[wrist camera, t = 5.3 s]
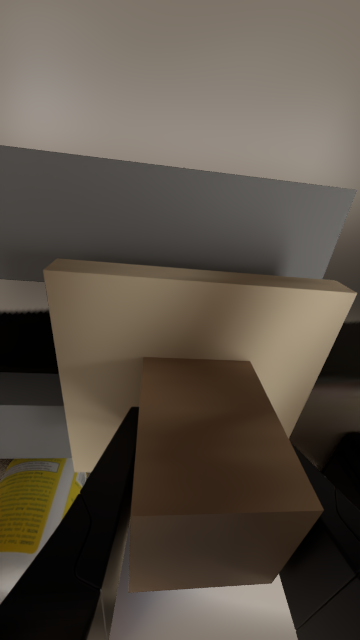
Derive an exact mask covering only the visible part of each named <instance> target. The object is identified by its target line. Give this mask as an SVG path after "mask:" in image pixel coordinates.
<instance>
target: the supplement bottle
mask: <svg viewBox="0 0 360 640" xmlns="http://www.w3.org/2000/svg"><path fill="white" fill-rule="evenodd" d="M86 477H87V472H74V467H73V460H72V458H20V459H11V461H10V463H9V465H8V467H7V469H6V471H5V473H4V475H3V477H2V479H1V481H0V604H1V603H2V601H3V600H4V599H5V597H6V596H7V595H8V593H9V592H10V591H11V589H12V588H13V587H14V585H15V584H16V583H17V581H18V580H19V579H20V577H21V576H22V574H23V573H24V572H25V570H26V569H27V568H28V566H29V565H30V564H31V562H32V561H33V560H34V558H35V557H36V556H37V554H38V553H39V552H40V550H41V549H42V548H43V546H44V545H45V543H46V542H47V541H48V539H49V538H50V536H51V535H52V534H53V532H54V531H55V529H56V528H57V527H58V525H59V524H60V522H61V521H62V519H63V517H64V516H65V514H66V513H67V511H68V510H69V508H70V507H71V505H72V503H73V502H74V500H75V498H76V497H77V495H78V494H80V490H81V489H82V487H83V485H84V484H85V481H86Z"/></svg>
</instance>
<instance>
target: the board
mask: <svg viewBox="0 0 360 640" xmlns="http://www.w3.org/2000/svg"><path fill="white" fill-rule="evenodd" d="M356 192H357V190H354V189H346V188H338V187H330V186H322V185H314V184H306V183H298V182H290V181H282V180H274V179H266V178H258V177H250V176H241V175H234V174H226V173H218V172H210V171H202V170H194V169H186V168H178V167H170V166H162V165H154V164H146V163H138V162H130V161H122V160H113V159H106V158H98V157H90V156H81V155H73V154H66V153H57V152H49V151H42V150H33V149H26V148H18V147H10V146H2V145H0V279H8V280H23V281H37V282H45V280H44V273H43V270H44V269H45V268H46V267H47V266H48V265H50V264H51V263H52V262H53V261H54V260H56V259H57V258H59V259H71V260H84V261H96V262H109V263H122V264H134V265H147V266H160V267H172V268H185V269H197V270H210V271H223V272H235V273H248V274H260V275H273V276H286V277H298V278H311V279H323V276H324V273H325V271H326V268H327V266H328V263H329V260H330V258H331V256H332V253H333V250H334V248H335V245H336V242H337V240H338V238H339V235H340V232H341V230H342V227H343V225H344V222H345V220H346V217H347V215H348V212H349V209H350V207H351V204H352V202H353V199H354V197H355V194H356ZM20 458H72V454H71V448H70V441H69V435H68V428H67V422H66V415H65V409H64V402H63V396H62V389H61V383H60V376H59V374H46V373H10V372H0V459H20Z"/></svg>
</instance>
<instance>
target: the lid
mask: <svg viewBox="0 0 360 640" xmlns="http://www.w3.org/2000/svg"><path fill="white" fill-rule="evenodd" d="M43 273H44V280H45V286H46V292H47V299H48V305H49V312H50V318H51V325H52V331H53V338H54V344H55V351H56V357H57V364H58V370H59V376H60V383H61V389H62V396H63V402H64V409H65V415H66V422H67V428H68V435H69V441H70V448H71V454H72V460H73V467H74V472H92V470H93V469H94V467H95V465H96V464H97V462H98V460H99V459H100V457H101V455H102V454H103V452H104V450H105V449H106V447H107V446H108V444H109V442H110V441H111V439H112V437H113V436H114V434H115V432H116V431H117V429H118V427H119V426H120V424H121V422H122V421H123V419H124V417H125V416H126V414H127V412H128V411H129V409H130V408H131V407H133V406H138V407H139V417H138V430H137V442H136V455H135V468H134V480H133V493H132V505H131V520H130V559H129V593H131V592H147V591H161V590H177V589H193V588H208V587H223V586H237V585H238V586H239V585H254V584H269V583H272V582H273V581H274V579H275V578H276V577H277V575H278V574H279V572H280V571H281V570H282V568H283V567H284V565H285V564H286V563H287V561H288V560H289V558H290V557H291V556H292V554H293V553H294V551H295V550H296V549H297V547H298V546H299V544H300V543H301V542H302V540H303V539H304V538H305V536H306V535H307V533H308V532H309V531H310V529H311V528H312V526H313V525H314V524H315V522H316V521H317V519H318V518H319V517H320V515H321V514H322V512H323V511H324V509H323V507H322V505H321V503H320V501H319V499H318V497H317V495H316V493H315V491H314V489H313V487H312V485H311V483H310V481H309V479H308V477H307V475H306V473H305V471H304V469H303V467H302V465H301V463H300V461H299V459H298V457H297V455H296V453H295V451H294V449H293V447H292V445H291V443H290V441H289V437H290V435H291V433H292V431H293V429H294V426H295V424H296V422H297V420H298V418H299V416H300V414H301V412H302V409H303V407H304V405H305V403H306V401H307V399H308V397H309V395H310V392H311V390H312V388H313V386H314V384H315V382H316V380H317V378H318V375H319V373H320V371H321V369H322V367H323V365H324V363H325V361H326V358H327V356H328V354H329V352H330V350H331V348H332V346H333V344H334V341H335V339H336V337H337V335H338V333H339V331H340V329H341V327H342V324H343V322H344V320H345V318H346V316H347V314H348V312H349V310H350V308H351V305H352V303H353V301H354V299H355V297H356V295H357V293H356V292H354V291H353V290H351V289H349V288H348V287H346V286H344V285H343V284H341V283H339V282H337V281H336V280H323V279H311V278H298V277H286V276H273V275H260V274H248V273H235V272H223V271H210V270H197V269H185V268H172V267H160V266H147V265H134V264H122V263H109V262H96V261H84V260H71V259H59V258H57V259H56V260H54V261H53V262H52V263H51V264H50V265H48V266H47V267H46V268H45V269H44V270H43Z"/></svg>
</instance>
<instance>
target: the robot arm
mask: <svg viewBox="0 0 360 640" xmlns="http://www.w3.org/2000/svg"><path fill="white" fill-rule="evenodd" d="M138 417H139V407H138V406H133V407H131V408H130V409H129V411H128V412H127V414H126V416H125V417H124V419H123V421H122V422H121V424H120V426H119V427H118V429H117V431H116V432H115V434H114V436H113V437H112V439H111V441H110V442H109V444H108V446H107V447H106V449H105V450H104V452H103V454H102V455H101V457H100V459H99V460H98V462H97V464H96V465H95V467H94V469H93V470H92V472H91V474H90V475H89V477H88V479H87V480H86V482H85V484H84V485H83V487H82V489H81V490H80V494H78V495H77V497H76V498H75V500H74V502H73V503H72V505H71V507H70V508H69V510H68V511H67V513H66V514H65V516H64V517H63V519H62V521H61V522H60V524H59V525H58V527H57V528H56V529H55V531H54V532H53V534H52V535H51V536H50V538H49V539H48V541H47V542H46V543H45V545H44V546H43V548H42V549H41V550H40V552H39V553H38V554H37V556H36V557H35V558H34V560H33V561H32V562H31V564H30V565H29V566H28V568H27V569H26V570H25V572H24V573H23V574H22V576H21V577H20V579H19V580H18V581H17V583H16V584H15V585H14V587H13V588H12V589H11V591H10V592H9V593H8V595H7V596H6V597H5V599H4V600H3V601H2V603H1V604H0V640H109V635H110V630H111V624H112V619H113V613H114V607H115V602H116V596H117V590H118V585H119V579H120V573H121V568H122V562H123V556H124V550H125V545H126V539H127V534H128V528H129V522H130V517H131V505H132V493H133V480H134V468H135V455H136V442H137V430H138ZM290 443H291V442H290ZM291 445H292V447H293V449H294V451H295V453H296V455H297V457H298V459H299V461H300V463H301V465H302V467H303V469H304V471H305V473H306V475H307V477H308V479H309V481H310V483H311V485H312V487H313V489H314V491H315V493H316V495H317V497H318V499H319V501H320V503H321V505H322V507H323V509H324V511H323V512H322V514H321V515H320V517H319V518H318V519H317V521H316V522H315V524H314V525H313V526H312V528H311V529H310V531H309V532H308V533H307V535H306V536H305V538H304V539H303V540H302V542H301V543H300V544H299V546H298V547H297V549H296V550H295V551H294V553H293V554H292V556H291V557H290V558H289V560H288V561H287V563H286V564H285V565H284V567H283V568H282V570H281V571H280V572H279V575H280V579H281V582H282V586H283V589H284V592H285V596H286V599H287V603H288V606H289V609H290V613H291V616H292V620H293V623H294V627H295V629H296V630H297V631H296V634H297V638H298V640H360V434H349V435H347V436H345V437H344V438H343V440H342V442H341V443H340V445H339V446H338V448H337V450H336V451H335V453H334V454H333V456H332V457H331V459H330V461H329V462H328V464H327V465H326V467H325V469H324V470H323V472H322V473H321V472H320V471H319V470H318V469H317V468H316V467H315V466H314V465H313V464H312V463H311V462H310V461H309V460H308V459H307V458H306V457H305V456H304V455H303V454H302V453H301V452H300V451H299V450H298V449H297V448H296V447H295V446H294V445H293V444H292V443H291Z"/></svg>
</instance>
